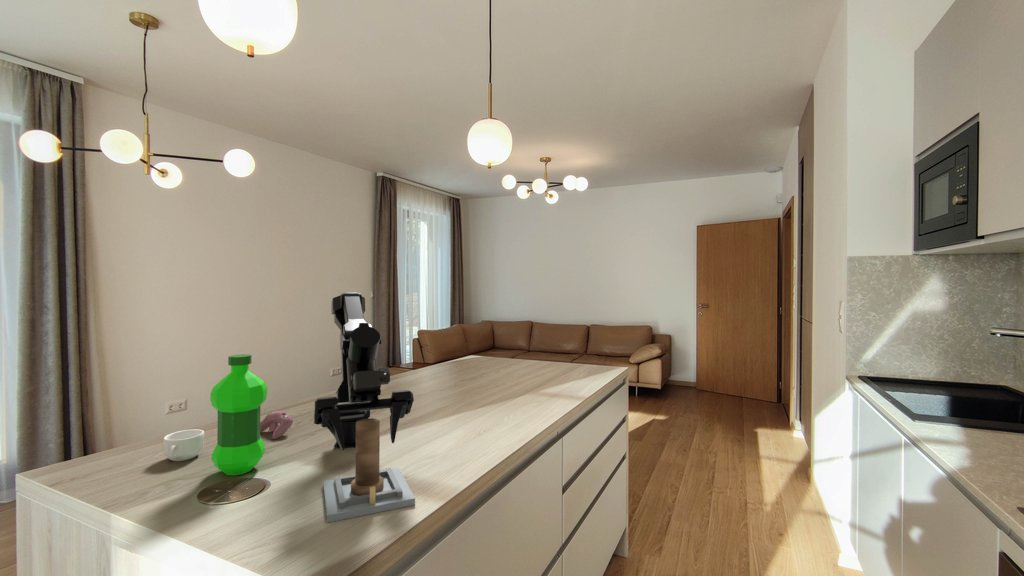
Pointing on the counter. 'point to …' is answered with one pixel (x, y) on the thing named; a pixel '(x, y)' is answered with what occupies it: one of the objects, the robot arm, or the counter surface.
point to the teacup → (183, 444)
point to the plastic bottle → (238, 418)
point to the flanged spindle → (367, 458)
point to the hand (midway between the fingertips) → (368, 445)
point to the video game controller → (276, 423)
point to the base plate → (366, 496)
